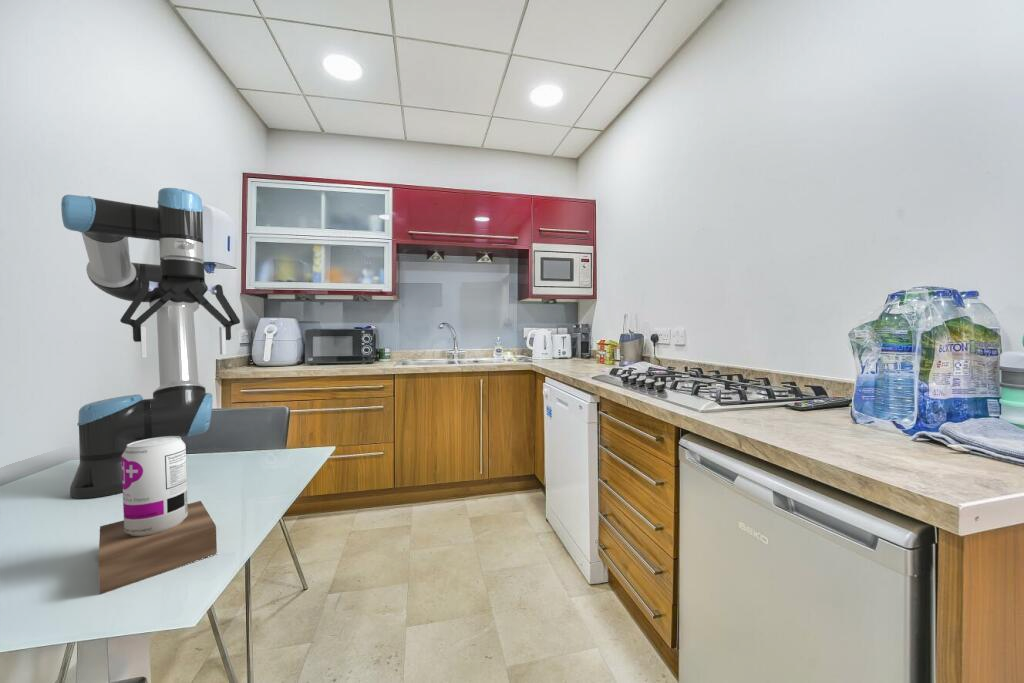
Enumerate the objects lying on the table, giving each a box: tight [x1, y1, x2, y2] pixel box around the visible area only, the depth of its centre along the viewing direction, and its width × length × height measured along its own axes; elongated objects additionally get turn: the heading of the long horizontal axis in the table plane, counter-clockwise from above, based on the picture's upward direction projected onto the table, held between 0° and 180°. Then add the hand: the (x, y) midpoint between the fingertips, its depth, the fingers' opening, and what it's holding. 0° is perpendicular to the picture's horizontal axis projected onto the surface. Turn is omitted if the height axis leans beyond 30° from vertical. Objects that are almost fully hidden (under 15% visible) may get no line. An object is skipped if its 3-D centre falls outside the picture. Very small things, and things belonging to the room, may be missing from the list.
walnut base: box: [98, 500, 218, 595], centre depth 68 cm, size 16×14×5 cm
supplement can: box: [122, 436, 188, 536], centre depth 68 cm, size 8×8×15 cm
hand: (185, 356), depth 86 cm, fingers open, 13 cm apart
